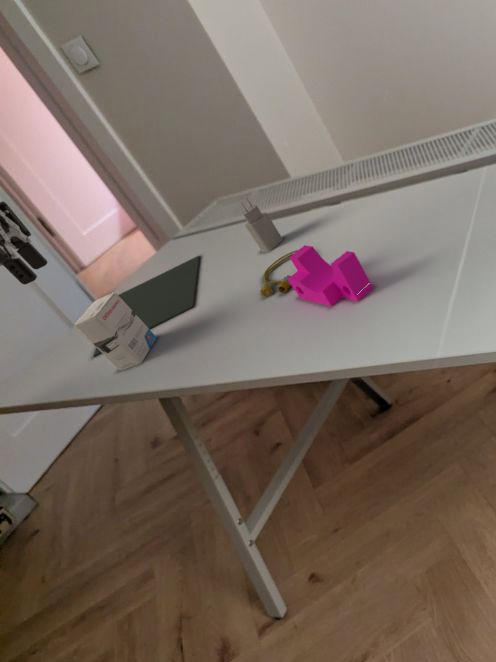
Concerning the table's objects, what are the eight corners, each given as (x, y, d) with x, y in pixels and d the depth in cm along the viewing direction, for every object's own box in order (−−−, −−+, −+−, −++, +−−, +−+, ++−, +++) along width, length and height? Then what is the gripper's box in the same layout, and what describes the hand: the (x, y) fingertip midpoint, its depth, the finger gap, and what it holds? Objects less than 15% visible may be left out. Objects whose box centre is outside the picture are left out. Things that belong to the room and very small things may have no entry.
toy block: (300, 298, 99) (278, 265, 94) (324, 278, 102) (304, 245, 97) (348, 311, 89) (326, 274, 85) (373, 289, 92) (354, 252, 88)
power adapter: (284, 239, 126) (255, 192, 118) (270, 252, 122) (240, 205, 115) (275, 240, 127) (246, 194, 120) (261, 253, 124) (230, 206, 117)
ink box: (137, 345, 108) (93, 299, 101) (158, 337, 107) (116, 290, 100) (119, 372, 101) (71, 324, 94) (142, 364, 101) (95, 315, 94)
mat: (194, 308, 112) (192, 306, 112) (95, 358, 110) (93, 355, 110) (200, 257, 136) (198, 255, 136) (118, 297, 134) (117, 295, 134)
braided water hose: (241, 299, 108) (236, 291, 106) (288, 254, 117) (283, 246, 116) (283, 298, 101) (278, 290, 100) (329, 251, 111) (324, 242, 110)
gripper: (-64, 175, 81) (27, 268, 91) (-113, 200, 69) (-2, 304, 79) (-16, 153, 81) (69, 247, 91) (-56, 175, 70) (47, 280, 80)
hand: (36, 273), depth 85 cm, fingers open, 5 cm apart
